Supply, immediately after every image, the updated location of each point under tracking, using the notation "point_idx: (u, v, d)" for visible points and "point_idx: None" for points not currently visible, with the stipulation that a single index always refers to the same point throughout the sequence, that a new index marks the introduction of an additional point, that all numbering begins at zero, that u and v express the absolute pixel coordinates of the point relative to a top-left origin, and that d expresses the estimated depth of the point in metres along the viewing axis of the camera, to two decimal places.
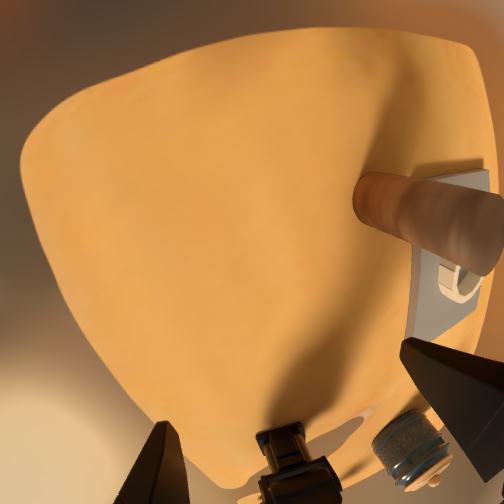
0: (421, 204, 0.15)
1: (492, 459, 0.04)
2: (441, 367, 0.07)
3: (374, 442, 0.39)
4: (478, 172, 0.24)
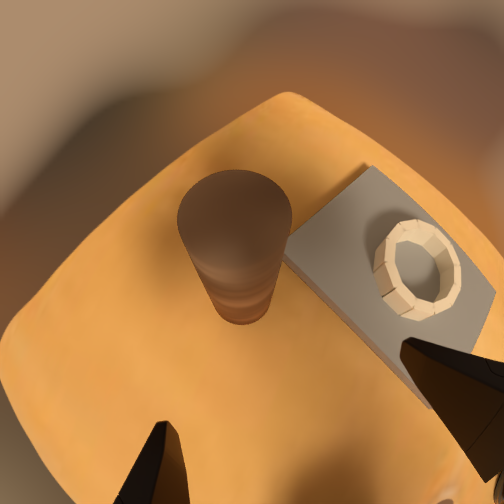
0: None
1: (492, 459, 0.04)
2: (441, 367, 0.07)
3: (496, 501, 0.09)
4: (358, 178, 0.28)
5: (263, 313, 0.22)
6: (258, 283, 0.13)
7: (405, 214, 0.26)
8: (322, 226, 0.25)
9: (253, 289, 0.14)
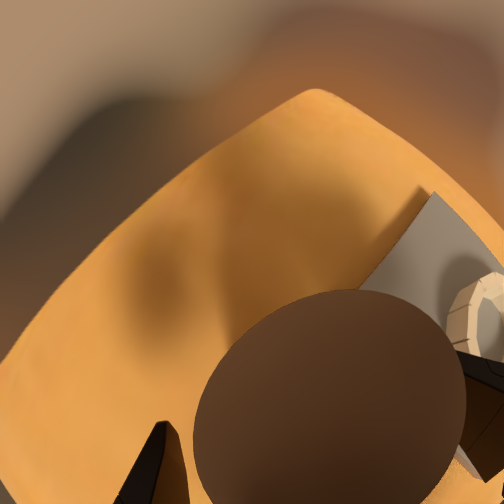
0: None
1: (492, 459, 0.04)
2: None
3: None
4: (422, 210, 0.19)
5: None
6: None
7: (474, 259, 0.17)
8: (387, 286, 0.16)
9: None
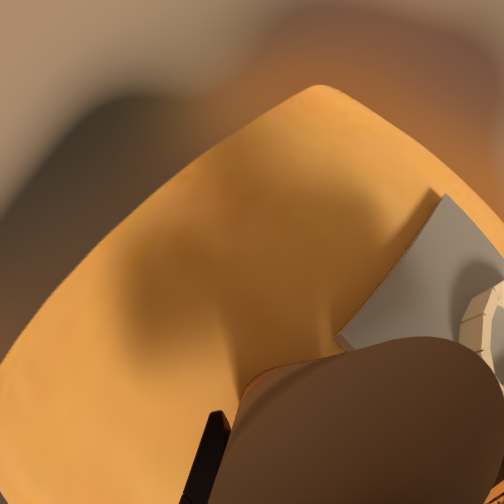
0: None
1: None
2: None
3: None
4: (434, 214, 0.18)
5: None
6: None
7: (485, 264, 0.16)
8: (400, 295, 0.15)
9: None
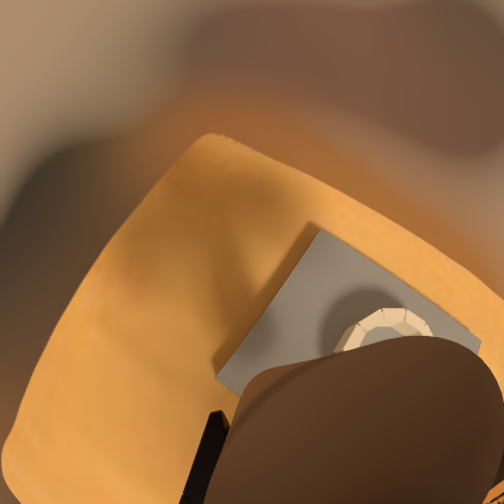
0: None
1: None
2: None
3: None
4: (303, 256, 0.24)
5: None
6: None
7: (367, 290, 0.22)
8: (263, 341, 0.21)
9: None
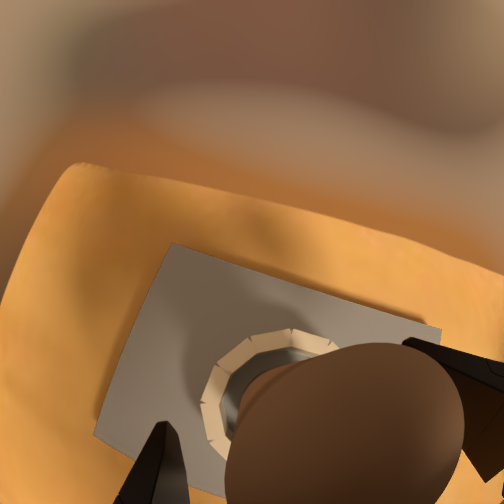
0: None
1: (492, 459, 0.04)
2: None
3: None
4: (154, 283, 0.18)
5: None
6: None
7: (242, 308, 0.18)
8: (126, 392, 0.15)
9: None
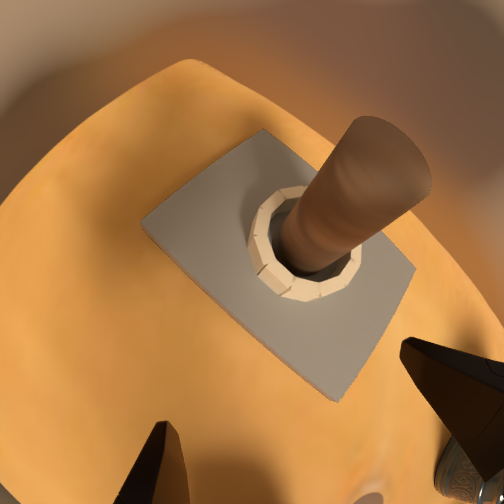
0: (311, 187, 0.15)
1: (492, 459, 0.04)
2: (441, 367, 0.07)
3: (438, 490, 0.17)
4: (243, 143, 0.26)
5: (318, 271, 0.21)
6: (377, 225, 0.13)
7: (296, 180, 0.25)
8: (191, 197, 0.22)
9: (366, 230, 0.13)
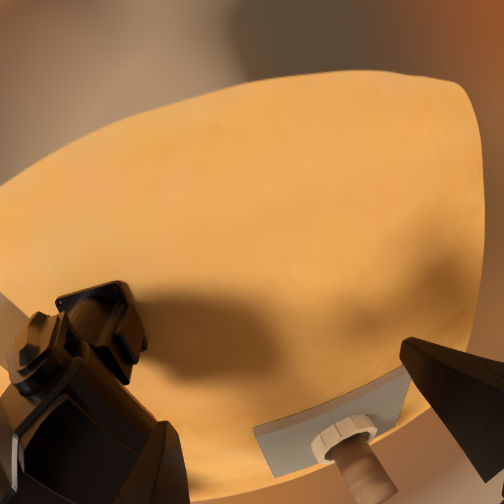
0: (381, 466, 0.22)
1: (492, 459, 0.04)
2: (441, 367, 0.07)
3: None
4: (397, 417, 0.33)
5: None
6: (360, 490, 0.20)
7: None
8: (400, 393, 0.30)
9: (359, 485, 0.21)
